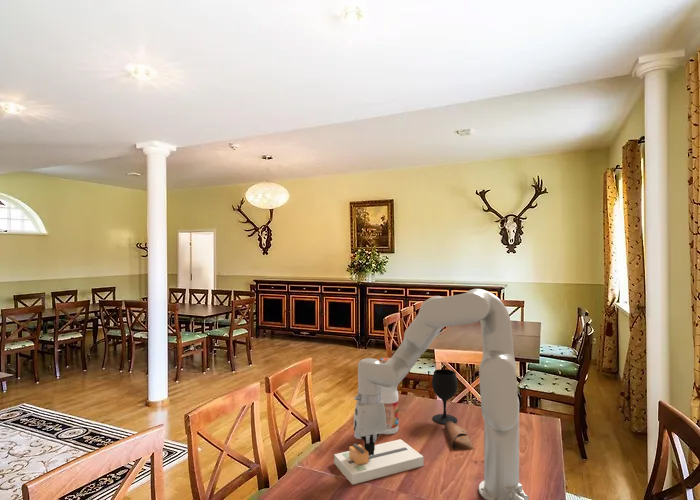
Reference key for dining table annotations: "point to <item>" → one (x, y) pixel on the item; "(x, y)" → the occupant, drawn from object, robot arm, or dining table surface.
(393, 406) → the fruit juice
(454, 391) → the wine glass
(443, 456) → the dining table surface
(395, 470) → the fader console
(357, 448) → the fader knob
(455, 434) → the sunglasses case
